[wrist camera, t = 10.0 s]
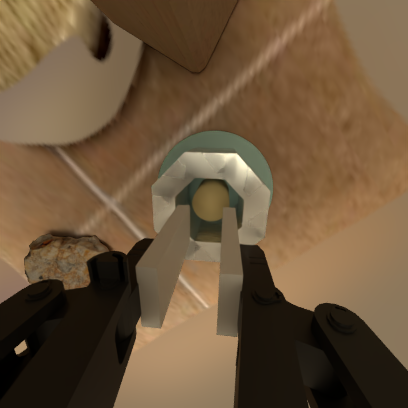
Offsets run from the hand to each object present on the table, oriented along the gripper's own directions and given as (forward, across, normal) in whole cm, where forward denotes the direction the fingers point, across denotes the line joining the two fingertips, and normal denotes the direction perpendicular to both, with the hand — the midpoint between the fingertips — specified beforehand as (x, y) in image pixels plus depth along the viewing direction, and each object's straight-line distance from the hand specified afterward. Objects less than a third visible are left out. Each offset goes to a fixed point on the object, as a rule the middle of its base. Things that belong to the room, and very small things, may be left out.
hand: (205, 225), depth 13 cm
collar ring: (+8, 0, 0) cm, 8 cm away
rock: (+11, -19, -10) cm, 24 cm away
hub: (+10, 0, 0) cm, 10 cm away
